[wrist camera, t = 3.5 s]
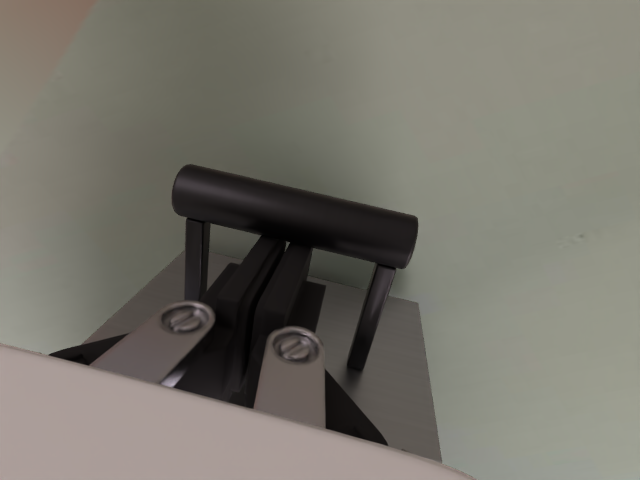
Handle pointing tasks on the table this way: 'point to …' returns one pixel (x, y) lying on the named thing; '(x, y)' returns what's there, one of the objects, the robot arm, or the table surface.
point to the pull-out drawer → (339, 300)
